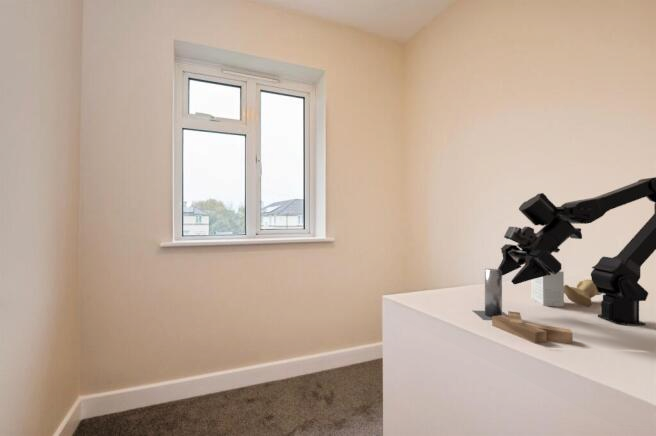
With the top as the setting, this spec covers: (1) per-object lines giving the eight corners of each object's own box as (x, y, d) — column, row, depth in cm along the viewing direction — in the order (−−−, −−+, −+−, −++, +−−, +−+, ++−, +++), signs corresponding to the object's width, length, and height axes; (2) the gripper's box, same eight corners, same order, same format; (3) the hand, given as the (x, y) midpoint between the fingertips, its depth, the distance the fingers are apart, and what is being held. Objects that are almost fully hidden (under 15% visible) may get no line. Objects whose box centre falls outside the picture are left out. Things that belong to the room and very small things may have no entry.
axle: (497, 313, 83) (497, 268, 83) (504, 318, 79) (505, 271, 79) (482, 312, 83) (482, 268, 83) (488, 317, 79) (489, 271, 79)
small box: (564, 307, 90) (564, 271, 90) (542, 306, 91) (543, 270, 91) (550, 300, 98) (550, 267, 98) (530, 299, 99) (530, 266, 99)
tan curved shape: (560, 283, 96) (582, 270, 100) (556, 301, 98) (578, 288, 103) (590, 296, 89) (613, 281, 93) (586, 316, 91) (608, 301, 96)
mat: (501, 312, 85) (501, 311, 85) (517, 322, 77) (517, 320, 77) (471, 311, 85) (471, 310, 85) (483, 320, 77) (483, 319, 77)
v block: (513, 320, 78) (513, 310, 78) (578, 344, 63) (578, 332, 63) (484, 323, 75) (484, 313, 75) (545, 349, 60) (545, 336, 60)
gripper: (508, 216, 90) (468, 253, 91) (548, 215, 71) (497, 262, 72) (536, 244, 89) (496, 281, 90) (584, 250, 70) (532, 296, 71)
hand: (503, 279), depth 81 cm, fingers open, 9 cm apart
